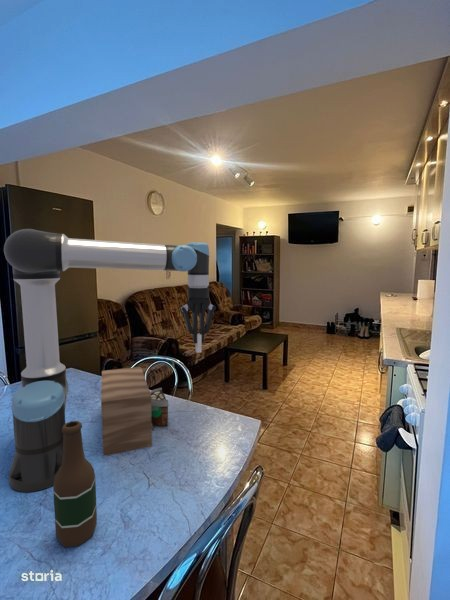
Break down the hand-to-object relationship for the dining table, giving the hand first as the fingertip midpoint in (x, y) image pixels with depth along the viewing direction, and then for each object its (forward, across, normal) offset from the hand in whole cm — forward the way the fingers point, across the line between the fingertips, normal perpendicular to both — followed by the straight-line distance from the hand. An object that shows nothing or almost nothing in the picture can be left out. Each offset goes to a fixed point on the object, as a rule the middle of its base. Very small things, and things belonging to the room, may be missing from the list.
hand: (198, 351), depth 113 cm
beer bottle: (+25, +38, +40) cm, 60 cm away
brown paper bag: (+24, +26, 0) cm, 36 cm away
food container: (+25, +15, -1) cm, 29 cm away
